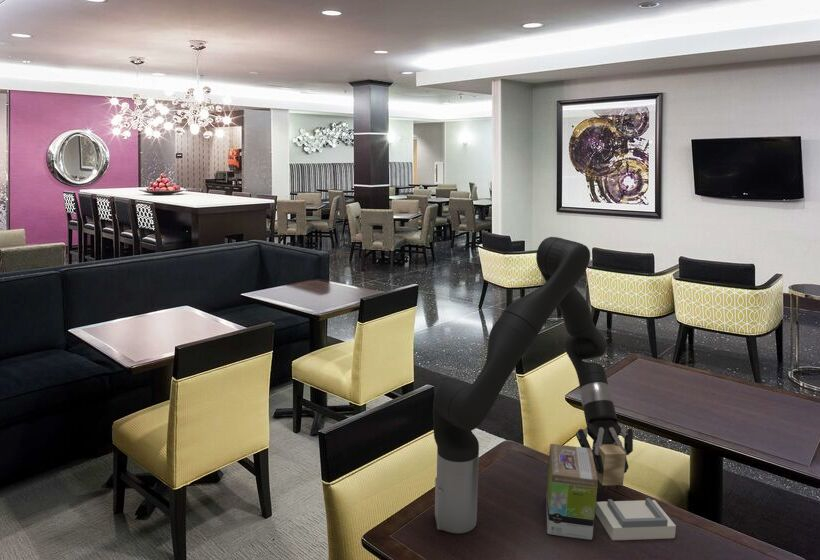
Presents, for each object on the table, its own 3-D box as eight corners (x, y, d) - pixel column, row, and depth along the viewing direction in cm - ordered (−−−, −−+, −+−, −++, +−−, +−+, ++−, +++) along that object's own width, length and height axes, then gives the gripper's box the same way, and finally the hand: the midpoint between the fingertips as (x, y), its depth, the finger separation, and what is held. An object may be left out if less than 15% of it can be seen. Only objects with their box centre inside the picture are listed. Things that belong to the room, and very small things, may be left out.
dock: (612, 540, 129) (613, 521, 129) (595, 513, 139) (596, 495, 138) (674, 538, 130) (676, 519, 129) (653, 511, 140) (655, 494, 139)
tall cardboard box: (601, 490, 141) (605, 454, 139) (594, 478, 146) (597, 444, 144) (622, 489, 141) (626, 453, 139) (614, 478, 146) (617, 443, 144)
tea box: (594, 541, 129) (598, 479, 126) (546, 535, 131) (550, 474, 128) (588, 502, 144) (592, 446, 141) (545, 497, 146) (548, 442, 143)
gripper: (574, 398, 147) (588, 468, 137) (631, 398, 148) (648, 467, 138) (565, 410, 153) (578, 477, 143) (620, 409, 154) (636, 476, 144)
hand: (612, 472), depth 141 cm, fingers closed on tall cardboard box, 5 cm apart
